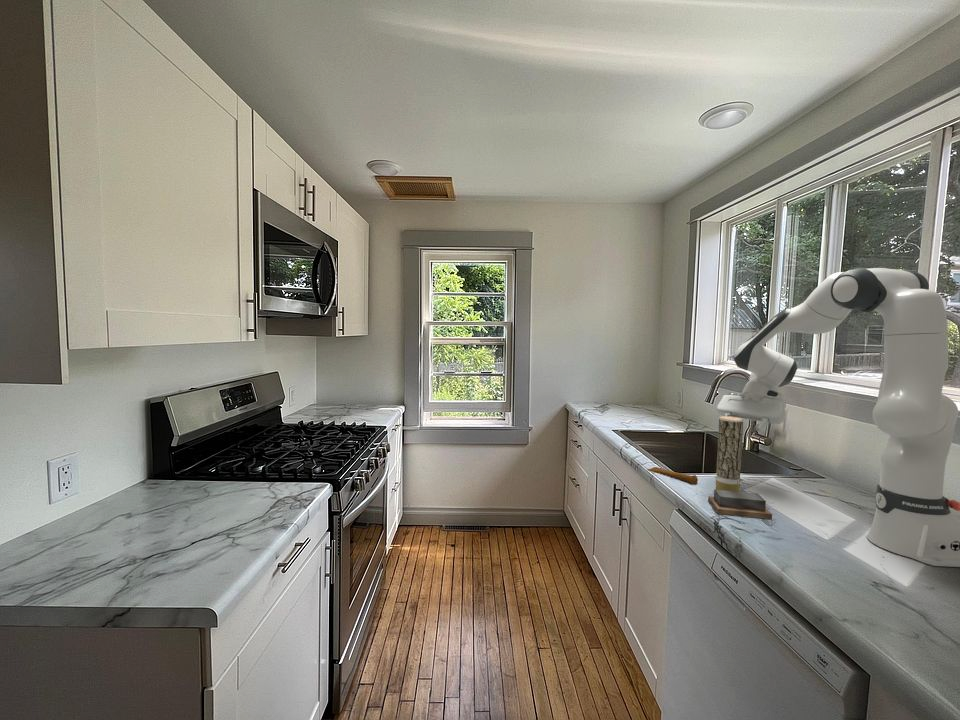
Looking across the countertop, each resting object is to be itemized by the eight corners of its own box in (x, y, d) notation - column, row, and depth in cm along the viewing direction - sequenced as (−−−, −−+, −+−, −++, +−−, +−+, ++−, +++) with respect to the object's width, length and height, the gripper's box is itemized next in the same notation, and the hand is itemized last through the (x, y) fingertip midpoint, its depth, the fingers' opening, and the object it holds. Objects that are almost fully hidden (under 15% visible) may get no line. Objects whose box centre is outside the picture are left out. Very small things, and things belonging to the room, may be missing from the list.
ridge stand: (758, 505, 132) (759, 491, 131) (771, 519, 122) (772, 503, 122) (708, 500, 135) (708, 486, 135) (717, 513, 125) (718, 498, 125)
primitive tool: (646, 470, 165) (646, 461, 165) (655, 468, 168) (655, 459, 168) (692, 486, 149) (693, 476, 149) (702, 484, 152) (702, 474, 151)
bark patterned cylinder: (719, 495, 139) (722, 419, 138) (712, 488, 146) (716, 415, 144) (742, 498, 138) (746, 421, 136) (735, 490, 144) (739, 417, 143)
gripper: (722, 387, 157) (707, 416, 152) (787, 394, 141) (773, 427, 136) (727, 398, 160) (713, 427, 155) (791, 406, 144) (778, 439, 139)
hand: (742, 427), depth 145 cm, fingers open, 8 cm apart
